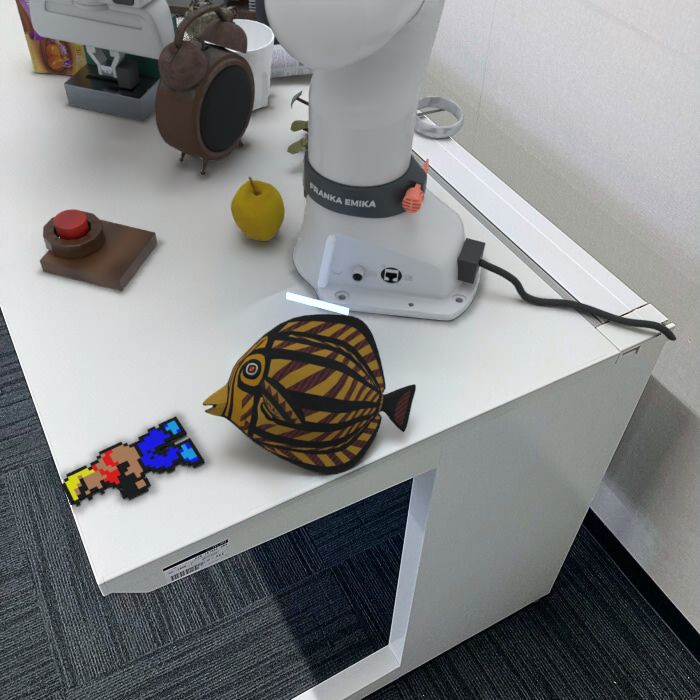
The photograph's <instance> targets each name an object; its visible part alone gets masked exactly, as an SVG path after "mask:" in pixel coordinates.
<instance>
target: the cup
mask: <svg viewBox="0 0 700 700" xmlns="http://www.w3.org/2000/svg"><path fill="white" fill-rule="evenodd" d="M233 22H235V24H237V25H239V26H240V27H241V28H242V29H243V30H244V32H245V33H246V36H247V52H246V53H242V52H238V51H235V50H231V49H228V48H226V49H228V50H230V51H232V52H234V53H236V54H238V55H240V56H242V57H243V58H245V59H246V61H247V62H248V63H249V65H250V67H251V69H252V72H253V76H254V82H255V98H254V106H253V111H252V112H254V111H256V110H258V109H260V108H265V107H268V106H269V96H270V93H271V78H270V74H271V63H272V56H273V45H274V34H273V32H272V30H271V29H270V28H269V27H268V26H266V25H264V24H262V23H259V22H257V21H251V20H242V19H234V20H233ZM204 42H205V43H209V44H213V43H210V42H207V41H204ZM214 45H216V44H214ZM218 46H219V45H218Z"/></svg>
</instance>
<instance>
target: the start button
mask: <svg viewBox="0 0 700 700" xmlns="http://www.w3.org/2000/svg"><path fill="white" fill-rule="evenodd" d="M82 211H83V210H80V209H73V208H72V209H70V208H69V209H65V210H62V211H60V212H58V213H57V214H56V215H55V216H54V217H55V218H54V225H55V229H56V232H57V235H58V236H59V238H61V239H65V240H74V239H79V238H81V237H83V236H86V235H87V233H88V232H89V225H88V222H87V218H86V215H85V213H84V212H85V211H84V212H82Z"/></svg>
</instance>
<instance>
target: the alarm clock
mask: <svg viewBox="0 0 700 700" xmlns="http://www.w3.org/2000/svg"><path fill="white" fill-rule="evenodd" d="M211 11H215V13H216V15H217V16H218V18H219V19H217V20H213V21H211V22H210V23H208V24H207V26H206V27H205V29H204V31H203V34H202V35H200V36H199V37H198V38H197V40H195V41H190V40H185V39H184V37H185V34H186V29H187V27H188V26H189V25H190V24H191V23H192V22H193V21H194V20H196V19H197V18H199V17H201V16H202V15H204V14H206V13H208V12H211ZM233 19H234V15H233V13H231V12H230V13H229V14H227V18H226V17H225V15H224V13H223V11H222V10H221V8H220V7H218V6H215V5H205V6H203V7H200V8H198V9H197V10H195V11H193V12H192V13H190V14H189V15H187V16H186V17H185V18H183V19H182V20H181V21H180V23H178V24H177V30H176V34H175V38H174V42H171V43H170V44H168V45H167V46H166V47H165V48H164V49H163V50H162V52H161V54H160V56H159V60H158V64H159V71H160V74H161V78H160V81H159V84H158V88H157V92H156V99H155V109H154V117H155V118H154V119H155V123H156V127H157V130H158V133H159V136H160V137H161V138H162V140H163V141H164V142H165V143H166V145H168V146H170V147H171V148H174V149H175V150H177V151H179V152H180V158H179V159H178V161H179V162H180V163H183V162H184V158H185V156H186V155H187V156H190V157H193V158H197V159H200V160H202V161H201V171H199V174H200V175H201V176H202V177H203V176H205V174H206V169H207V167H208V164H209V163H210V162H216V161H220V160H222V159H224V158H225V157H227V156H228V155H229V154H231V153H232V152H233V151H234V150H235V148H236V147H237V146H239V147H243V146H244V141H242V138H243V137H244V135H245V133H246V131H247V129H248V127H249V125H250V121H251V117H252V114H253V112H254V111H253V106H254V98H255V82H254V76H253V72H252V69H251V67H250V65H249V63H248V62H247V61H246V59H245V58H243V57H242V56H240V55H238V54H236V53H234V52H232V51H230V50H228V49H231V50H235V51H238V52H242V53H246V52H247V36H246V33H245V32H244V30H243V29H242V28H241V27H240V26H239V25H237V24H235V22H233ZM204 41H207V42H210V43H213V44H209V43H205V42H204ZM214 44H216V45H214ZM218 45H219V46H218ZM226 48H228V49H226Z"/></svg>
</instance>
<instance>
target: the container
mask: <svg viewBox="0 0 700 700" xmlns="http://www.w3.org/2000/svg"><path fill="white" fill-rule="evenodd" d="M314 71H315V69H314V68H311V67H308V66H306V65H304V64H302V63H300V62H299V61H297V60H296V59H294V58H293V57H292V56H291V55H289V54H288V53H287V52H286V51H285V49H284V48H283V47H282V46H281V45H273V56H272V63H271V74H270V79H272V78H283V77H291V76H293V77H295V76H302V75H313V73H314Z"/></svg>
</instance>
